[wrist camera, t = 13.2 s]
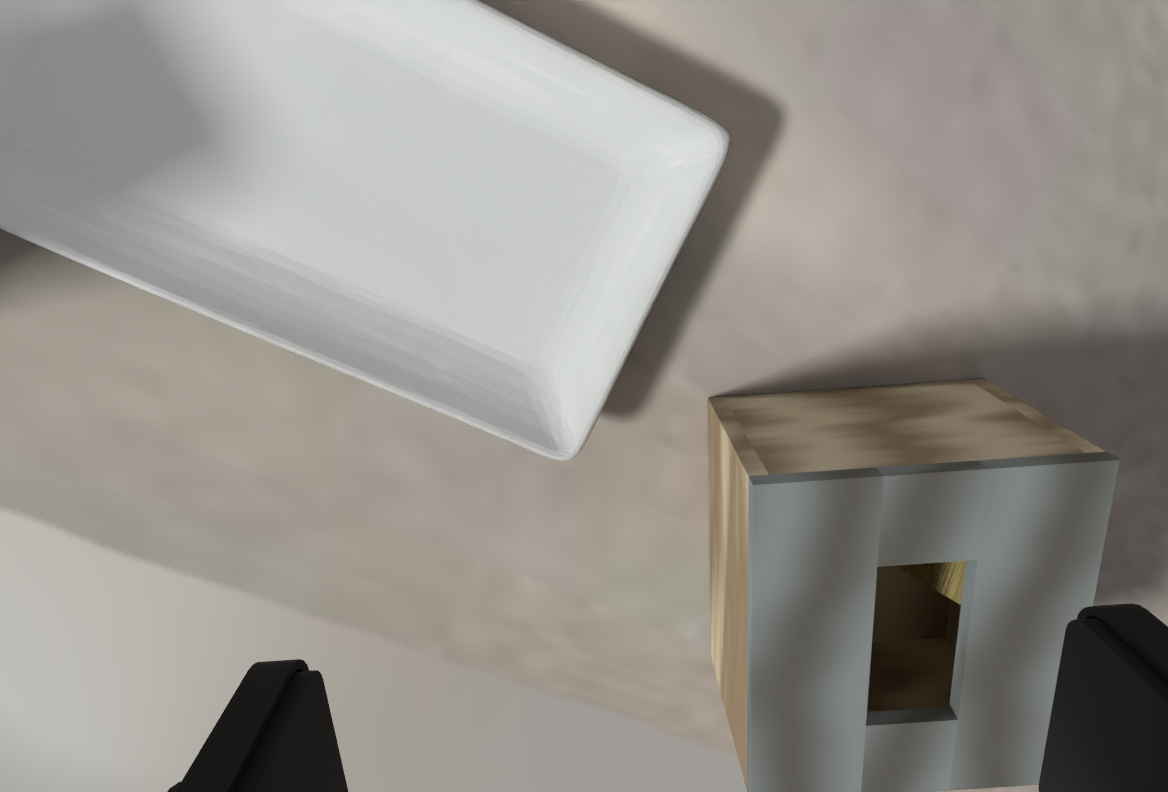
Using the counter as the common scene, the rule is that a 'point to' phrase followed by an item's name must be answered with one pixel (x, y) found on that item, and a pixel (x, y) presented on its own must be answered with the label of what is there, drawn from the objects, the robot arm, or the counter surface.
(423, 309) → the tray
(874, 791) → the box
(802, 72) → the counter surface
